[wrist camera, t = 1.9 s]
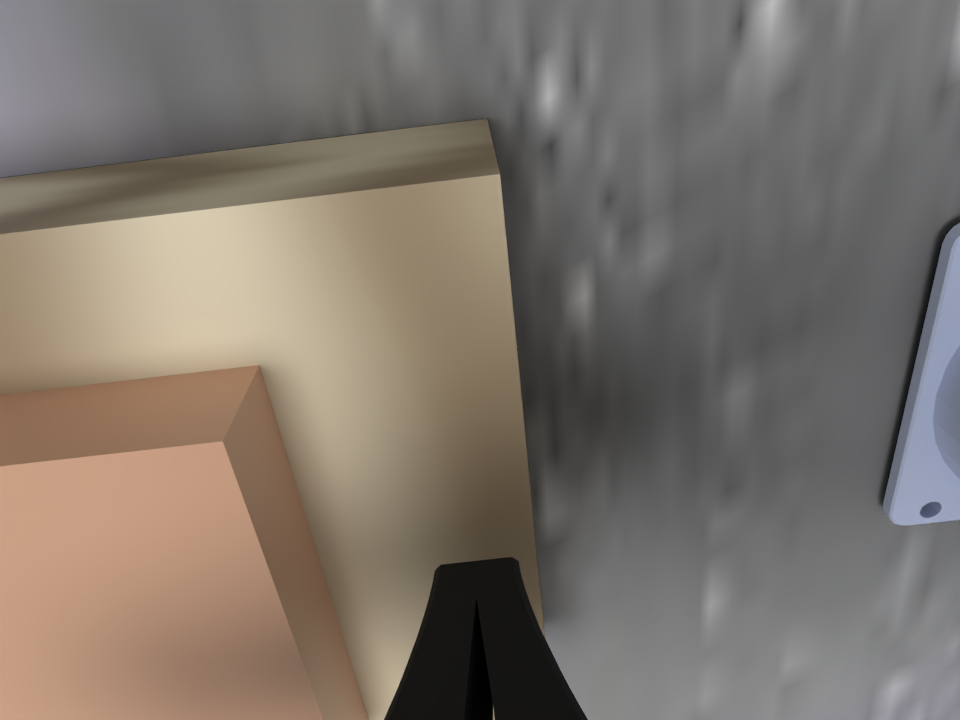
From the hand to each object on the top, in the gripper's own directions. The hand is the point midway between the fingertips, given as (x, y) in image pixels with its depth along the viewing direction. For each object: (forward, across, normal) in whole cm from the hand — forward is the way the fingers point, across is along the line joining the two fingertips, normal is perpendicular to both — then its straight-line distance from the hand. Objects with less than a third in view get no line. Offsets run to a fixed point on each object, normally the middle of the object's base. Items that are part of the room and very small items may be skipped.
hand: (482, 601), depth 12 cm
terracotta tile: (+1, +6, 0) cm, 6 cm away
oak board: (+5, +6, 0) cm, 8 cm away
